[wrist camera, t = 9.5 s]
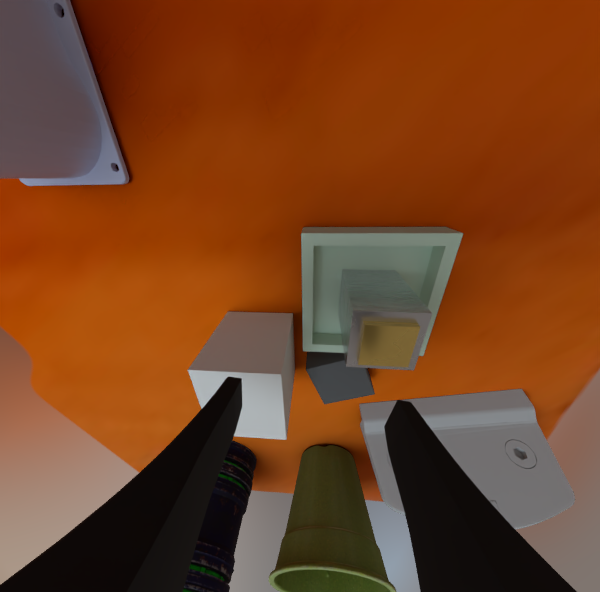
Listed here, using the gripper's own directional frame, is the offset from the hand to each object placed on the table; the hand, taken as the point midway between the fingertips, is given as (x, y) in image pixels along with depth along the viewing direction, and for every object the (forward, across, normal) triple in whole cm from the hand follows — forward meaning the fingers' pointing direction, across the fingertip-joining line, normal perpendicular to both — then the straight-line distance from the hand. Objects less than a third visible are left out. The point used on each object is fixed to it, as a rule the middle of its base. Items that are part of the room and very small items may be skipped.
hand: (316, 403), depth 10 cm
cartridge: (+9, -4, -2) cm, 10 cm away
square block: (+10, -3, +7) cm, 13 cm away
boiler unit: (+10, +4, +6) cm, 12 cm away
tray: (+10, -4, -2) cm, 11 cm away
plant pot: (+10, -5, +24) cm, 27 cm away
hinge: (+10, -16, +13) cm, 23 cm away
